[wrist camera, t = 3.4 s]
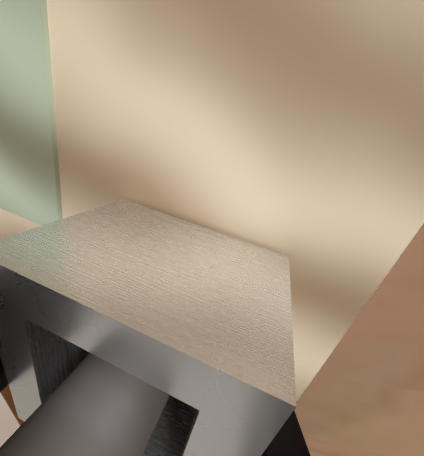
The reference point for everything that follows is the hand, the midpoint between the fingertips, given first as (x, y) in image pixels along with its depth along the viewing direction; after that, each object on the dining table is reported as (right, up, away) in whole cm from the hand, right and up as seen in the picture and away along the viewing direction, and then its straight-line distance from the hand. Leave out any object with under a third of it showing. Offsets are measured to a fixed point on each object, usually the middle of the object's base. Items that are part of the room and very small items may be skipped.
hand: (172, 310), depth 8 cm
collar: (0, 0, +1) cm, 1 cm away
